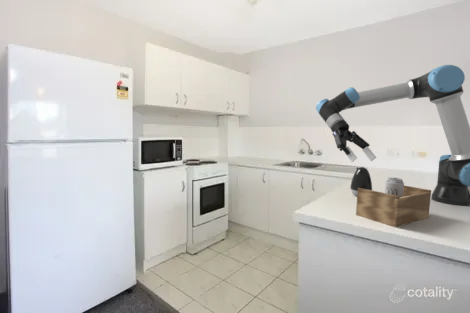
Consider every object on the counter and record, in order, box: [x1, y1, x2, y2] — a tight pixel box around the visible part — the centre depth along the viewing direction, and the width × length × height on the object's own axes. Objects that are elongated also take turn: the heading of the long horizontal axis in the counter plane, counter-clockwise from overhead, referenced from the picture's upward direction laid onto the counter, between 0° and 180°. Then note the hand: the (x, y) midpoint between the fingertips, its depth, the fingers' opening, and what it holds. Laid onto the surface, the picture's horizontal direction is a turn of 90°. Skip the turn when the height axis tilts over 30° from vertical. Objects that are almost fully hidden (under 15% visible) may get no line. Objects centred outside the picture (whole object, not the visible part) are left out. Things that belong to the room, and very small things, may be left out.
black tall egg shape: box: [349, 166, 373, 197], centre depth 133 cm, size 10×10×15 cm
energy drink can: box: [384, 177, 405, 197], centre depth 100 cm, size 6×6×15 cm
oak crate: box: [355, 185, 432, 228], centre depth 100 cm, size 15×24×11 cm, turn 120°
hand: (364, 159), depth 110 cm, fingers open, 13 cm apart
